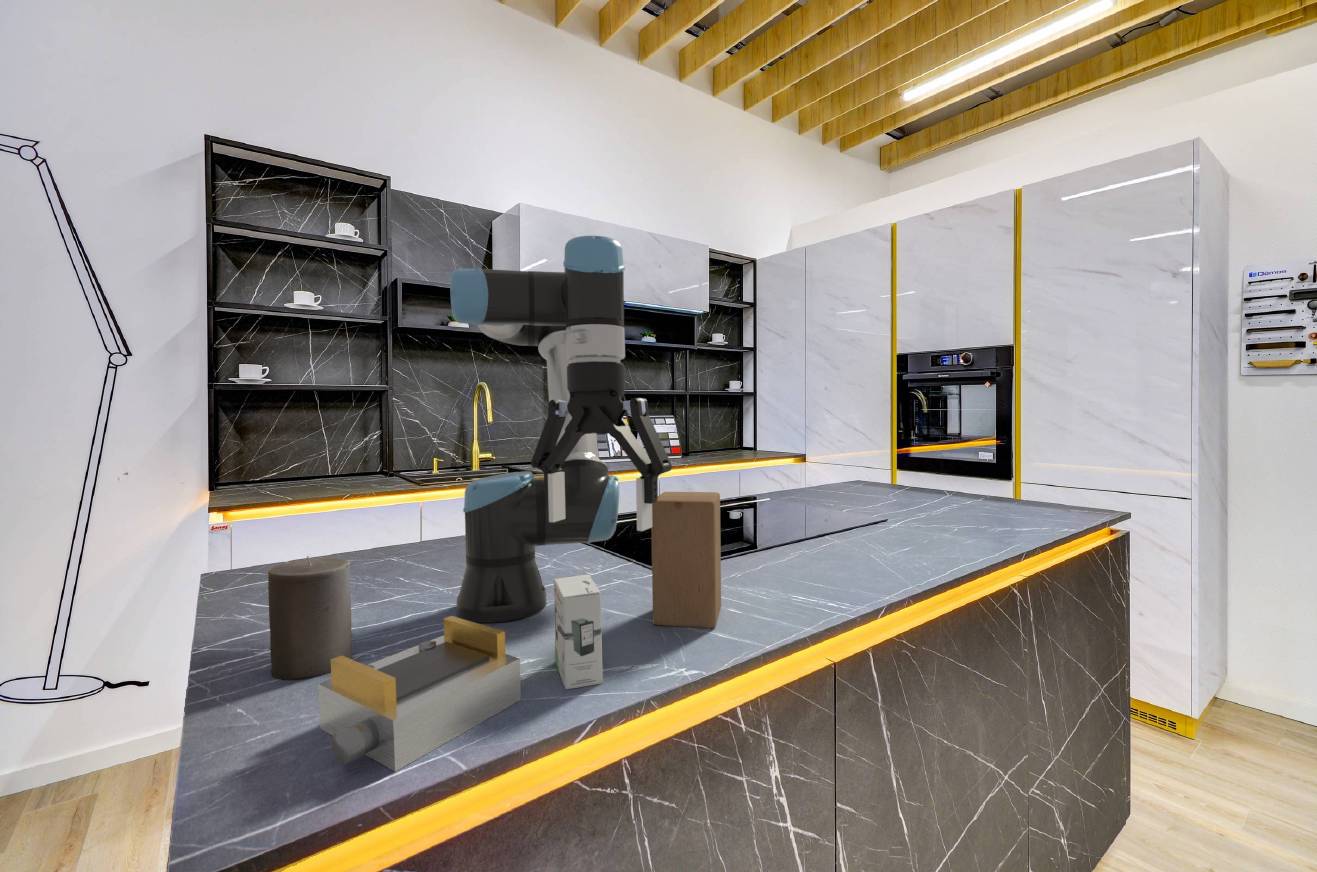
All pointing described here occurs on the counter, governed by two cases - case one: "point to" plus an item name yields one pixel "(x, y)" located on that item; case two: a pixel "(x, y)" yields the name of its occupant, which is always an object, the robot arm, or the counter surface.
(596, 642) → the ink box
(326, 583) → the pillar candle
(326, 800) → the counter surface
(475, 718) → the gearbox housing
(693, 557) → the wooden block
